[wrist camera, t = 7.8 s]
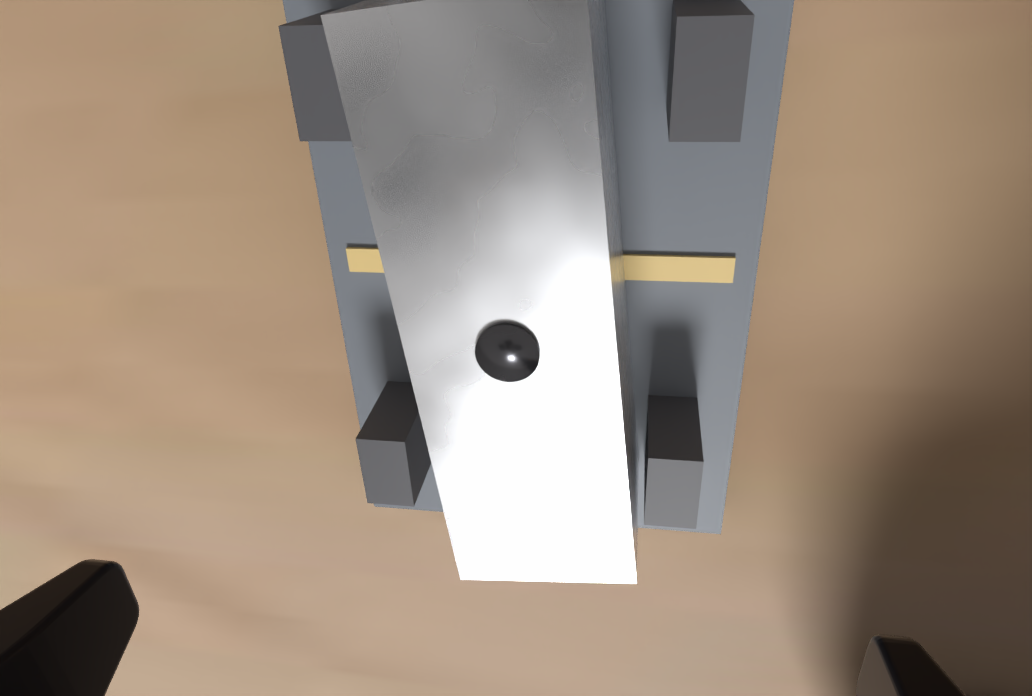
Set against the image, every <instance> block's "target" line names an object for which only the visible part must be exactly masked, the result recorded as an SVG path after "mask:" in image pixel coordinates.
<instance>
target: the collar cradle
mask: <svg viewBox="0 0 1032 696" xmlns="http://www.w3.org/2000/svg"><path fill="white" fill-rule="evenodd" d="M362 1H365V0H283V5H284V10H285V16H286V21H287V23H286V24H283V25H280V26H279V32H280V37H281V42H282V48H283V53H284V58H285V64H286V69H287V74H288V80H289V85H290V91H291V96H292V101H293V107H294V112H295V117H296V123H297V128H298V133H299V139H300V141H308V142H309V148H310V154H311V159H312V165H313V170H314V176H315V181H316V187H317V192H318V198H319V203H320V209H321V214H322V220H323V225H324V231H325V236H326V242H327V247H328V253H329V258H330V264H331V269H332V275H333V280H334V286H335V291H336V297H337V302H338V308H339V313H340V319H341V325H342V330H343V336H344V341H345V347H346V352H347V358H348V363H349V369H350V374H351V380H352V385H353V391H354V396H355V402H356V407H357V413H358V418H359V424H360V429H361V430H360V432H359V434H358V436H357V437H356V444H357V449H358V454H359V460H360V465H361V470H362V476H363V481H364V486H365V492H366V497H367V502H368V503H374V506H376V507H389V508H401V509H414V510H426V511H439V512H444V511H443V507H442V503H441V499H440V495H439V491H438V487H437V483H436V479H435V475H434V471H433V467H432V463H431V459H430V455H429V451H428V447H427V443H426V439H425V434H424V430H423V426H422V422H421V418H420V414H419V410H418V406H417V402H416V398H415V394H414V390H413V386H412V382H411V378H410V374H409V370H408V366H407V362H406V358H405V354H404V350H403V346H402V342H401V338H400V334H399V330H398V326H397V322H396V318H395V314H394V309H393V305H392V301H391V297H390V293H389V289H388V285H387V281H386V277H385V273H384V269H383V265H382V261H381V257H380V253H379V249H378V245H377V241H376V237H375V233H374V229H373V225H372V221H371V217H370V213H369V209H368V205H367V201H366V197H365V193H364V189H363V184H362V180H361V176H360V172H359V168H358V164H357V160H356V156H355V152H354V148H353V144H352V140H351V136H350V132H349V128H348V124H347V120H346V116H345V112H344V108H343V104H342V100H341V96H340V92H339V88H338V84H337V80H336V76H335V72H334V68H333V63H332V59H331V55H330V51H329V47H328V43H327V39H326V35H325V31H324V27H323V23H322V19H321V15H323V14H326V13H329V12H332V11H335V10H338V9H341V8H344V7H347V6H350V5H353V4H356V3H359V2H362ZM604 2H605V15H606V29H607V42H608V56H609V69H610V83H611V96H612V110H613V124H614V137H615V151H616V164H617V178H618V191H619V205H620V218H621V232H622V246H623V259H624V273H625V286H626V300H627V313H628V327H629V340H630V354H631V368H632V381H633V395H634V408H635V422H636V435H637V449H638V462H639V480H638V527H639V528H652V529H664V530H677V531H689V532H702V533H714V534H721V528H722V521H723V514H724V506H725V499H726V492H727V485H728V477H729V470H730V463H731V455H732V448H733V441H734V434H735V426H736V419H737V412H738V405H739V397H740V390H741V383H742V375H743V368H744V361H745V354H746V346H747V339H748V332H749V325H750V317H751V310H752V303H753V295H754V288H755V281H756V274H757V266H758V259H759V252H760V245H761V237H762V230H763V223H764V215H765V208H766V201H767V194H768V186H769V179H770V172H771V165H772V157H773V150H774V143H775V135H776V128H777V121H778V114H779V106H780V99H781V92H782V84H783V77H784V70H785V63H786V55H787V48H788V41H789V34H790V26H791V19H792V12H793V4H794V0H604Z"/></svg>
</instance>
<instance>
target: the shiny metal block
mask: <svg viewBox="0 0 1032 696" xmlns="http://www.w3.org/2000/svg"><path fill="white" fill-rule="evenodd" d="M321 19H322V23H323V27H324V31H325V35H326V39H327V43H328V47H329V51H330V55H331V59H332V63H333V68H334V72H335V76H336V80H337V84H338V88H339V92H340V96H341V100H342V104H343V108H344V112H345V116H346V120H347V124H348V128H349V132H350V136H351V140H352V144H353V148H354V152H355V156H356V160H357V164H358V168H359V172H360V176H361V180H362V184H363V189H364V193H365V197H366V201H367V205H368V209H369V213H370V217H371V221H372V225H373V229H374V233H375V237H376V241H377V245H378V249H379V253H380V257H381V261H382V265H383V269H384V273H385V277H386V281H387V285H388V289H389V293H390V297H391V301H392V305H393V309H394V314H395V318H396V322H397V326H398V330H399V334H400V338H401V342H402V346H403V350H404V354H405V358H406V362H407V366H408V370H409V374H410V378H411V382H412V386H413V390H414V394H415V398H416V402H417V406H418V410H419V414H420V418H421V422H422V426H423V430H424V434H425V439H426V443H427V447H428V451H429V455H430V459H431V463H432V467H433V471H434V475H435V479H436V483H437V487H438V491H439V495H440V499H441V503H442V507H443V511H444V515H445V519H446V523H447V527H448V531H449V535H450V539H451V543H452V547H453V551H454V555H455V559H456V564H457V568H458V572H459V576H460V580H498V581H545V582H593V583H637V533H638V480H639V462H638V449H637V435H636V422H635V408H634V395H633V381H632V368H631V354H630V340H629V327H628V313H627V300H626V286H625V273H624V259H623V246H622V232H621V218H620V205H619V191H618V178H617V164H616V151H615V137H614V124H613V110H612V96H611V83H610V69H609V56H608V42H607V29H606V15H605V2H604V0H365V1H362V2H359V3H356V4H353V5H350V6H347V7H344V8H341V9H338V10H335V11H332V12H329V13H326V14H323V15H321Z"/></svg>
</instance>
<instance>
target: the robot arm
mask: <svg viewBox="0 0 1032 696" xmlns="http://www.w3.org/2000/svg"><path fill="white" fill-rule="evenodd" d="M138 617H139V605H138V602H137V599H136V597H135V595H134V593H133V590H132V588H131V586H130V583H129V581H128V579H127V577H126V574H125V572H124V570H123V568H122V566H121V565H120V564H118V563H117V562H114V561H105V560H95V559H89V560H84V561H81V562H80V563H78V564H76V565H74V566H72V567H71V568H69V569H68V570H66V571H64V572H63V573H61V574H59V575H58V576H56V577H54V578H53V579H51V580H49V581H48V582H46V583H44V584H43V585H41V586H39V587H38V588H36V589H34V590H33V591H31V592H29V593H28V594H26V595H24V596H23V597H21V598H19V599H18V600H16V601H14V602H13V603H11V604H9V605H8V606H6V607H5V608H3V609H1V610H0V696H105V694H106V691H107V689H108V687H109V685H110V682H111V680H112V678H113V676H114V674H115V671H116V669H117V667H118V665H119V662H120V660H121V658H122V656H123V654H124V651H125V649H126V647H127V645H128V642H129V640H130V638H131V636H132V634H133V631H134V629H135V627H136V624H137V621H138ZM856 696H965V695H964V693H963V692H962V691H961V690H960V689H959V688H958V687H957V686H956V684H955V683H954V682H953V681H952V680H951V679H950V678H949V677H948V675H947V674H946V673H945V672H944V671H943V670H942V669H941V668H940V666H939V665H938V664H937V663H936V662H935V661H934V660H933V659H932V657H931V656H930V655H929V654H928V653H927V652H926V651H925V650H924V648H923V647H922V646H921V645H920V644H919V643H918V642H916V641H915V640H913V639H911V638H908V637H900V636H889V635H875V636H873V637H872V638H871V639H870V641H869V644H868V647H867V650H866V654H865V657H864V660H863V664H862V667H861V670H860V674H859V677H858V681H857V688H856Z"/></svg>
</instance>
